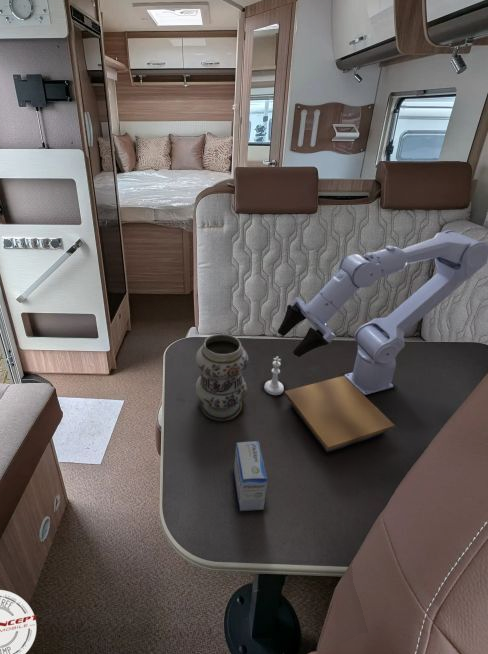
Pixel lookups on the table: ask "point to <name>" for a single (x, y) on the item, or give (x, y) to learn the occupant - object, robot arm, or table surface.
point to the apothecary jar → (221, 376)
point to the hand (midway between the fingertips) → (287, 344)
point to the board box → (337, 413)
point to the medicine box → (250, 476)
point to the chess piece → (274, 380)
